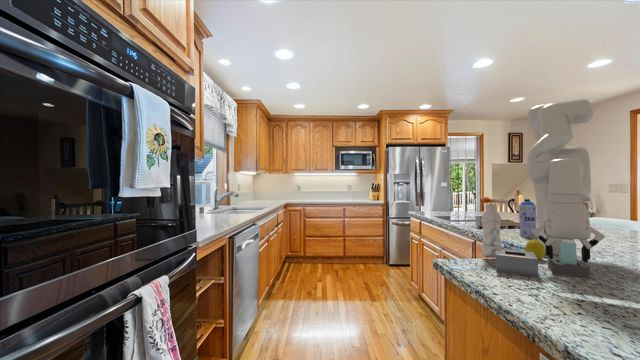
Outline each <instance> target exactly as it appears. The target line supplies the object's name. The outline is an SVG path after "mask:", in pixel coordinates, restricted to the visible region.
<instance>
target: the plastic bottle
mask: <svg viewBox="0 0 640 360" xmlns="http://www.w3.org/2000/svg"><path fill="white" fill-rule="evenodd" d="M484 209H485V211H484V212H483V214H482V215H481V224H482V232H483V239H482V245H481V246H482V247H481V253H482V255H483V256H484V258H488V259H489V258H496V254H495V249H502V246H501V234H500V233H501V224H502V217H501V215H500V214H499V212H498V211H497V210H498V206H497V204H496V203H485V206H484Z"/></svg>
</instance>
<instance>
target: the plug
mask: <svg viewBox="0 0 640 360" xmlns="http://www.w3.org/2000/svg"><path fill="white" fill-rule="evenodd" d="M575 240H576V239H564V238H559V240H558V255H557V257H558V258H557V259H558V263H562V264H572V265H577V261H578V260H577V243H576V242H575Z"/></svg>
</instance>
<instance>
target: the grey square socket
mask: <svg viewBox="0 0 640 360" xmlns="http://www.w3.org/2000/svg"><path fill="white" fill-rule="evenodd" d="M547 268H548V269H549V271H550V272H551V274H552V275H556V276H557V275H558V276H566V277H574V278H582V279H589V280H590V279H591V269H590V268H591V267H589V266H588V265H587V263H585V262H583V261H582V260H577V265H572V264H562V263H558V258H555V257H553V259H549V258H548V257H547Z"/></svg>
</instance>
